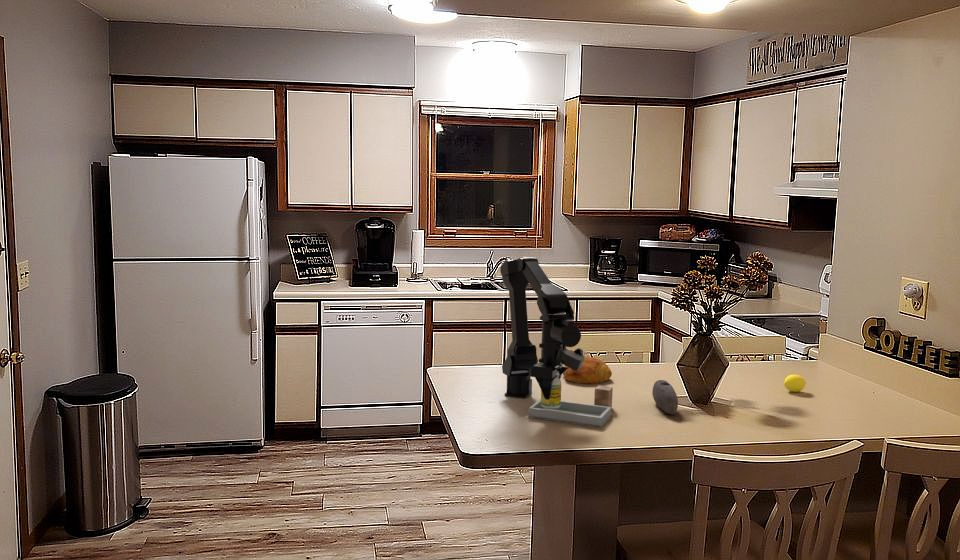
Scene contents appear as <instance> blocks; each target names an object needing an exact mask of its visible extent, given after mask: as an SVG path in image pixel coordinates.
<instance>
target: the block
mask: <svg viewBox="0 0 960 560" xmlns="http://www.w3.org/2000/svg"><path fill="white" fill-rule="evenodd" d="M613 388H614V387H613V386H606V385H600V384H599V385H598V384H597V386H596V387H595V388H594V399H593V400H594V401H593V403H594V404H593V405H598V406H606V407H611V409H612V408H613Z"/></svg>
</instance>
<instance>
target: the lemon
mask: <svg viewBox="0 0 960 560" xmlns="http://www.w3.org/2000/svg"><path fill="white" fill-rule="evenodd" d="M783 384H784V388H785V389H787V391H789V392H791V393H798V392H801V391H803V390H804V389H805V388H806V385H807V383H806V380H805V379H804V377H803V376H801V375H799V374H790V375H787V377H786V378H785V379H784V382H783Z"/></svg>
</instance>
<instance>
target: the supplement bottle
mask: <svg viewBox="0 0 960 560" xmlns="http://www.w3.org/2000/svg"><path fill="white" fill-rule="evenodd" d="M556 375H558V377H559V371H557V370H556ZM558 377H557V378H556V379H554V380H553V383H552V388H551V394H550V398H549V400H547V399H545V398H544V395H543V393H542V391H541V390H540V399H541V406H542V407H544V408H548V409H556V408H559V407H560V406H561V401H562V400H561V399H562V380H561V379H559V378H558Z"/></svg>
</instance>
